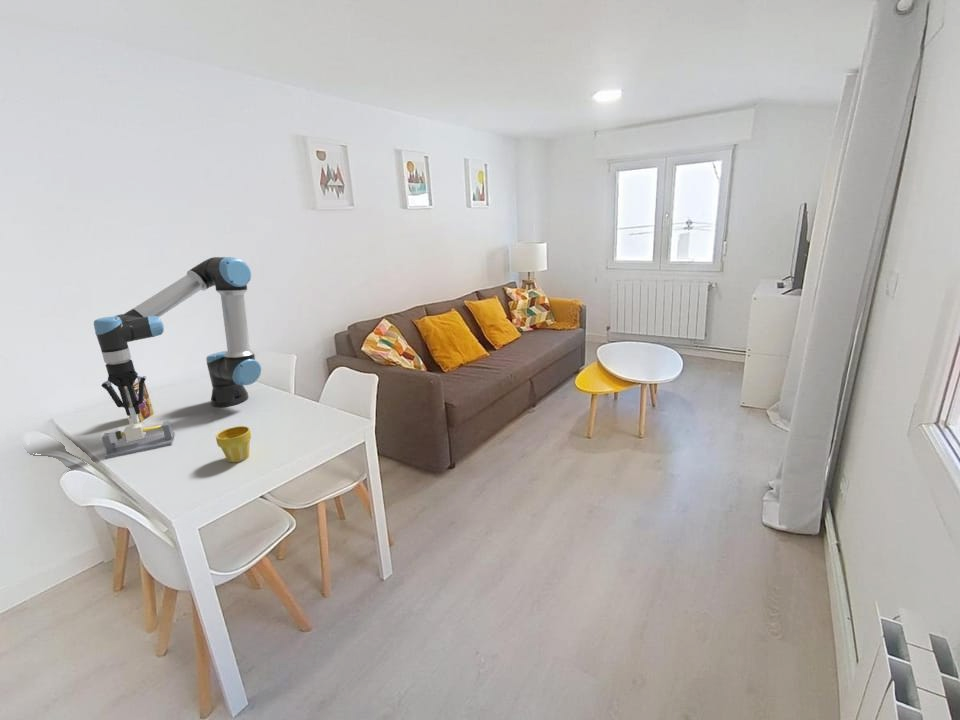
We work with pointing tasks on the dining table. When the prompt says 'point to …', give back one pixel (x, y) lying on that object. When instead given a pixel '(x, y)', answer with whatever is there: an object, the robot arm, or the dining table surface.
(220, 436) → the plant pot
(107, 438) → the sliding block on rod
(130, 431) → the cream slider carriage
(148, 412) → the candy box
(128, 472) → the dining table surface
